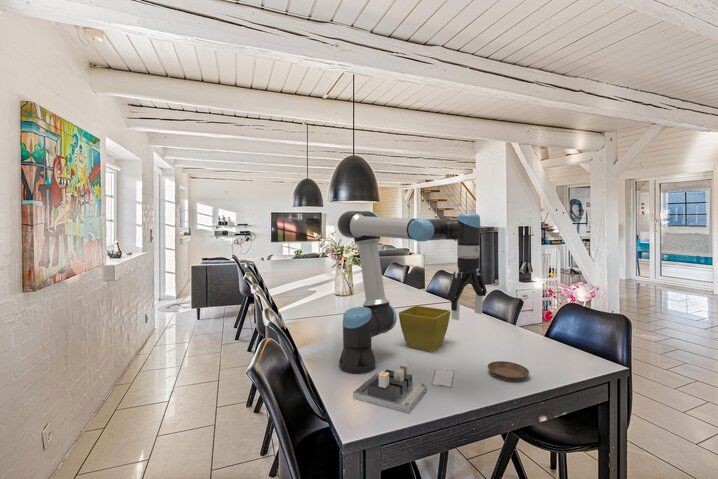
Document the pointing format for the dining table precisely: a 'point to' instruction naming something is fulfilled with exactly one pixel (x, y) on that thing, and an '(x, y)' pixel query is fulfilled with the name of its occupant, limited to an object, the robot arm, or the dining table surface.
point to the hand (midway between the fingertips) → (467, 316)
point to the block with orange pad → (383, 379)
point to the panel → (391, 403)
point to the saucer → (508, 370)
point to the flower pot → (424, 327)
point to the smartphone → (443, 378)
